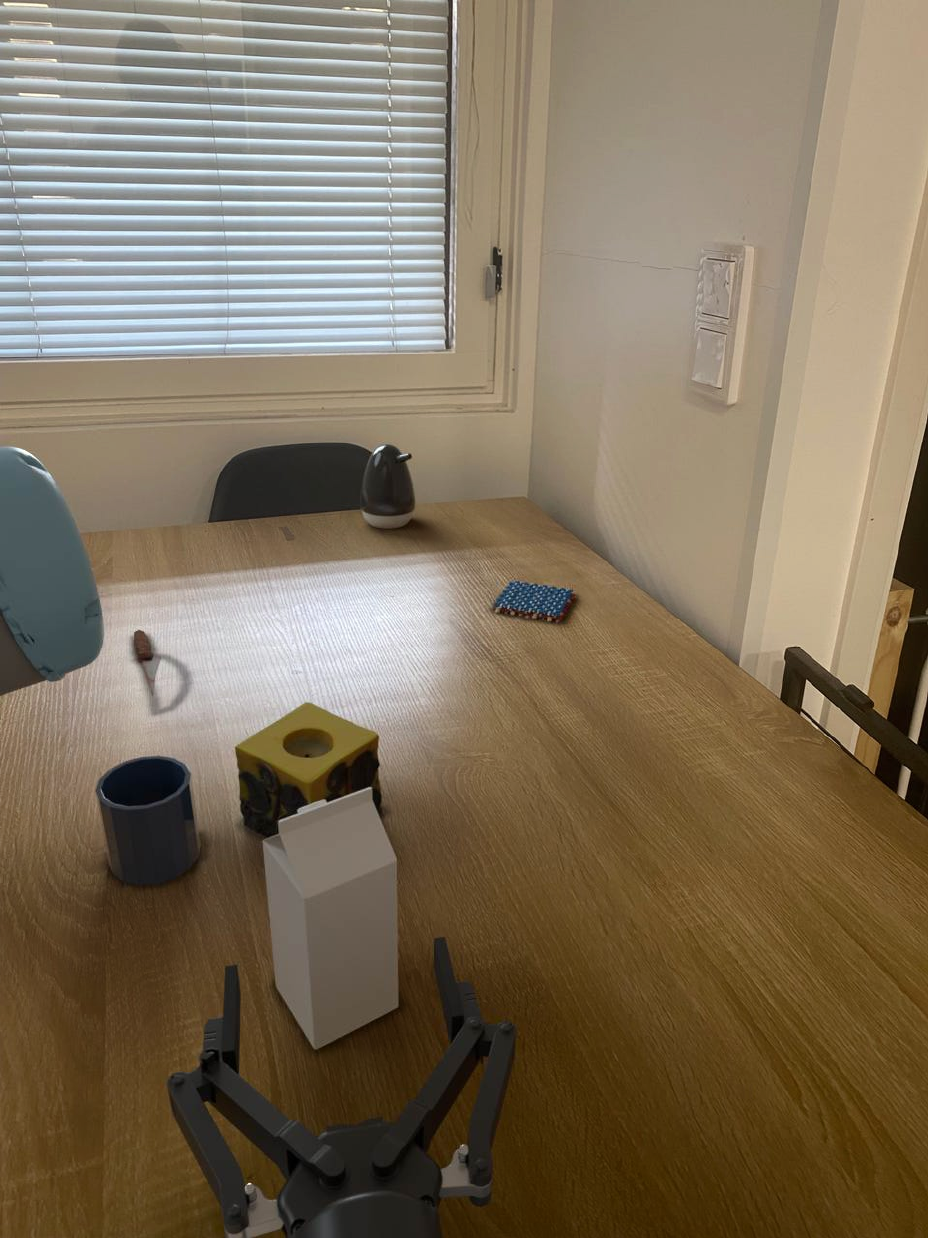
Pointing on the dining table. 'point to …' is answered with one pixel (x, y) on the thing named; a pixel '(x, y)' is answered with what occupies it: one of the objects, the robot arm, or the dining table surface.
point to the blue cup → (149, 819)
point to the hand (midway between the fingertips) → (338, 965)
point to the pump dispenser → (387, 489)
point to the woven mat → (534, 601)
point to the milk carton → (333, 916)
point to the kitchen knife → (146, 657)
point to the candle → (304, 766)
